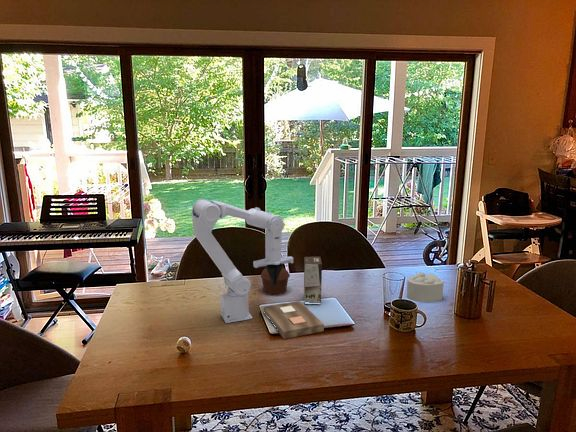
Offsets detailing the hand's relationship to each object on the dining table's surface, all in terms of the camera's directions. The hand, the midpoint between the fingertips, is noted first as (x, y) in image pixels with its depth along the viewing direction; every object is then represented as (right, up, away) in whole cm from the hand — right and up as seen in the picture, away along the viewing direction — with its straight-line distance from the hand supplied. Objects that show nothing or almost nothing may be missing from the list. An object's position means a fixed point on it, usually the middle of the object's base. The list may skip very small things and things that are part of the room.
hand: (273, 283), depth 163 cm
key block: (+7, -12, -9) cm, 16 cm away
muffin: (0, -6, +18) cm, 19 cm away
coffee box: (+14, -8, +9) cm, 19 cm away
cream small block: (+5, -10, -5) cm, 13 cm away
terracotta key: (+8, -12, -13) cm, 20 cm away
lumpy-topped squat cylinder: (+58, -7, +12) cm, 59 cm away
